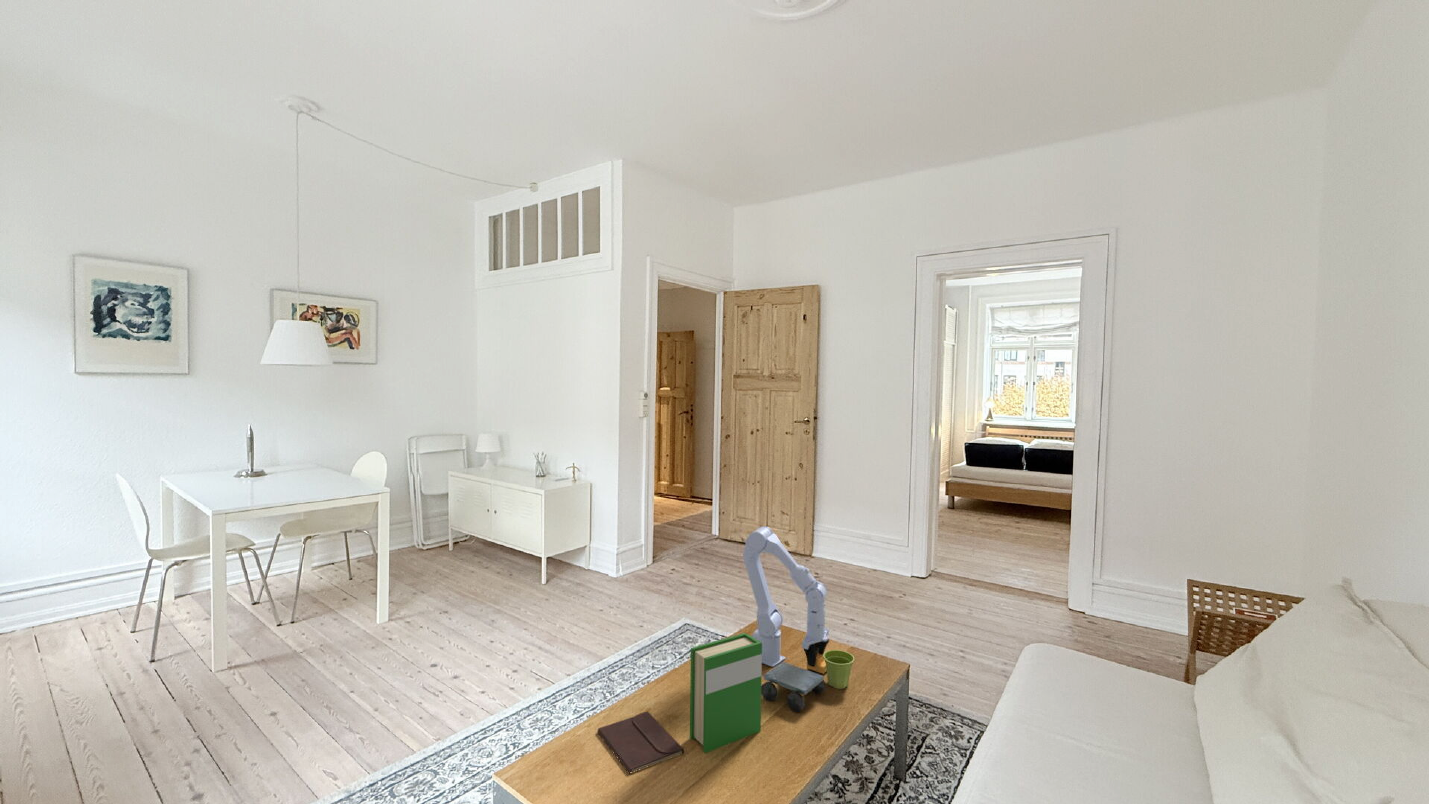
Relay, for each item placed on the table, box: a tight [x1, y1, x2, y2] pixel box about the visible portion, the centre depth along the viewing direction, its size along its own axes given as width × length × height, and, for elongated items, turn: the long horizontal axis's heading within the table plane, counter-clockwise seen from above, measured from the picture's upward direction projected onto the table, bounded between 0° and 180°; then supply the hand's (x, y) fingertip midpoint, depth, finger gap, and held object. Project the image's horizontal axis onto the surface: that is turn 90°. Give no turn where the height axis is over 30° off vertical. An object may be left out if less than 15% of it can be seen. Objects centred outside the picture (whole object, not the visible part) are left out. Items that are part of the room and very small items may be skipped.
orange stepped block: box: [806, 653, 827, 675], centre depth 192 cm, size 6×4×6 cm, turn 52°
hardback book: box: [689, 632, 763, 754], centre depth 156 cm, size 18×7×24 cm, turn 124°
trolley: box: [761, 661, 827, 713], centre depth 176 cm, size 14×14×6 cm
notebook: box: [597, 710, 685, 774], centre depth 153 cm, size 15×20×2 cm
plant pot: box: [823, 649, 855, 690], centre depth 183 cm, size 9×9×9 cm
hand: (815, 663), depth 193 cm, fingers closed on orange stepped block, 4 cm apart
